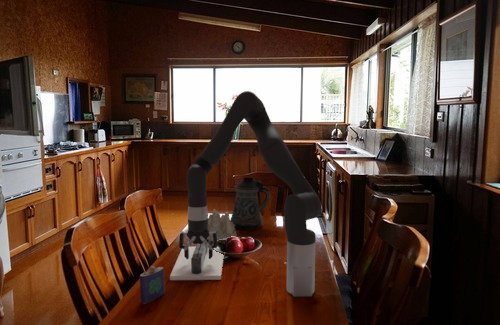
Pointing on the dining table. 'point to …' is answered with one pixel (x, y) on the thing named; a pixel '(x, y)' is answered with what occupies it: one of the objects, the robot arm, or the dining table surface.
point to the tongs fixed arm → (198, 260)
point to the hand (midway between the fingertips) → (198, 258)
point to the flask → (152, 284)
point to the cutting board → (209, 269)
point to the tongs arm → (196, 250)
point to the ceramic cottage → (220, 225)
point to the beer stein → (248, 204)
